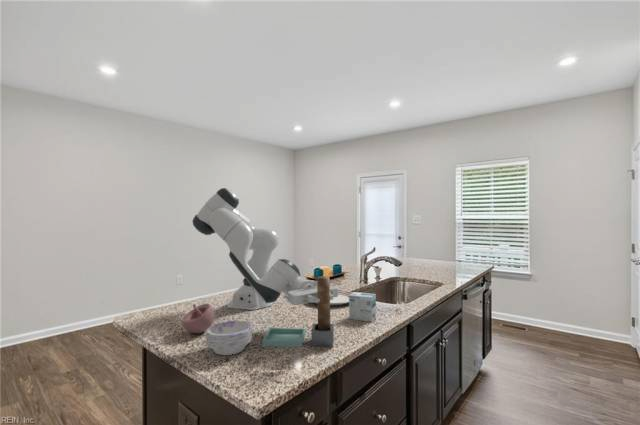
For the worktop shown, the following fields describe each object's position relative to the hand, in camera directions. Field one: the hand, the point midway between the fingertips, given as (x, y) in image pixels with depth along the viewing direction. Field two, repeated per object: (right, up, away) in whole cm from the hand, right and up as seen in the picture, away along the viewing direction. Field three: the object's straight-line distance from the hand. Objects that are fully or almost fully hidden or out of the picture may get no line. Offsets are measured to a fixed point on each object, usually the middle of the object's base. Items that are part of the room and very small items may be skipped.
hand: (325, 299), depth 112 cm
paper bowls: (-33, -17, -3) cm, 37 cm away
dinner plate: (+4, -16, +56) cm, 58 cm away
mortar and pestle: (-50, -17, +13) cm, 54 cm away
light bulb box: (+17, -16, +27) cm, 36 cm away
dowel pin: (0, -10, +1) cm, 10 cm away
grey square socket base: (-1, -16, 0) cm, 16 cm away
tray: (-15, -16, +3) cm, 22 cm away
